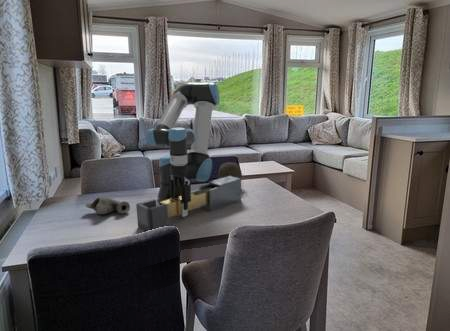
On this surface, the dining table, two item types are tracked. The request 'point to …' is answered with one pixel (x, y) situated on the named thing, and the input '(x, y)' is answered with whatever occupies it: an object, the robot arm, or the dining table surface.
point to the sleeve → (223, 192)
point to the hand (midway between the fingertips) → (181, 214)
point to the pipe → (108, 206)
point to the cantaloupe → (229, 170)
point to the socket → (151, 215)
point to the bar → (196, 201)
